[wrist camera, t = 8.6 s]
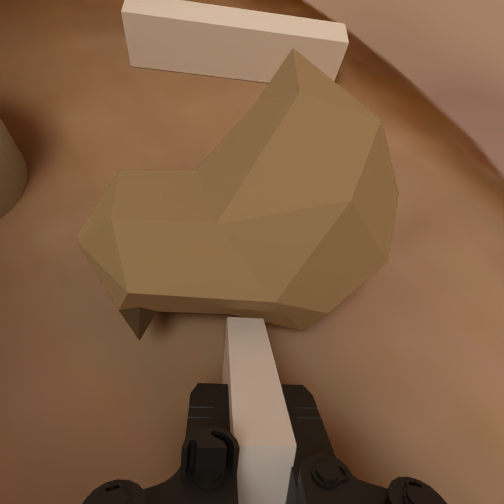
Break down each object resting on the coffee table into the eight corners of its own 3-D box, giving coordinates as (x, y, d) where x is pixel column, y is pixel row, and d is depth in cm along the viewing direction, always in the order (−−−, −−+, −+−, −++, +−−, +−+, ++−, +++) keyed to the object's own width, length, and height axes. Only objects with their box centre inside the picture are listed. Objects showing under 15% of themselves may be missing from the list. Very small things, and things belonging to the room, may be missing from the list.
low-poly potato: (348, 190, 25) (224, 63, 21) (511, 156, 15) (327, -96, 11) (221, 375, 22) (52, 262, 18) (317, 490, 12) (-18, 289, 8)
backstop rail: (330, 90, 29) (348, 42, 26) (130, 66, 28) (121, 11, 24) (327, 71, 31) (344, 23, 27) (135, 47, 29) (127, -8, 25)
